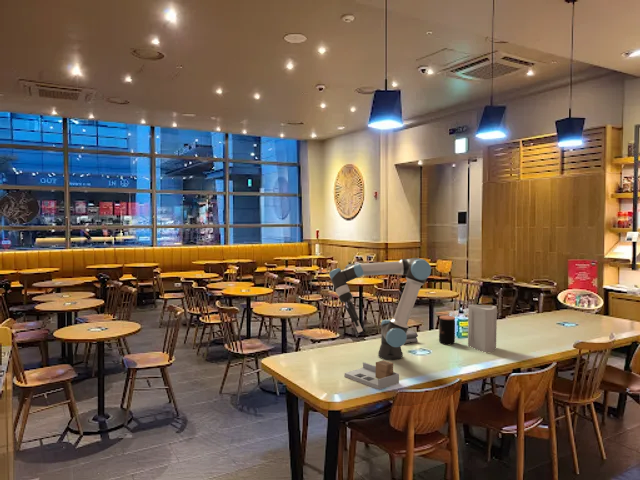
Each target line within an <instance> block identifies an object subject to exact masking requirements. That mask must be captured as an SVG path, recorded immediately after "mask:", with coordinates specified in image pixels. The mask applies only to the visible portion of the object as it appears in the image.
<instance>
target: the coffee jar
mask: <svg viewBox="0 0 640 480" xmlns="http://www.w3.org/2000/svg"><path fill="white" fill-rule="evenodd" d="M455 319H456V317H454V316H452V315H440V316H439V321H438V322H439V323H438V325H439V326H438V329H439V330H438V334H439V335H438V342H439V343H440V344H442V345H448V344H450V345H454V344H455V341H456V320H455Z"/></svg>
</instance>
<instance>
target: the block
mask: <svg viewBox="0 0 640 480" xmlns="http://www.w3.org/2000/svg"><path fill="white" fill-rule="evenodd" d="M375 366H376V378H379V379H381V378H384V377H388V376H391V375H393V372H394V363H393V362H391V361H387V360H385V359H383V360H379V361H376V362H375Z"/></svg>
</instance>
